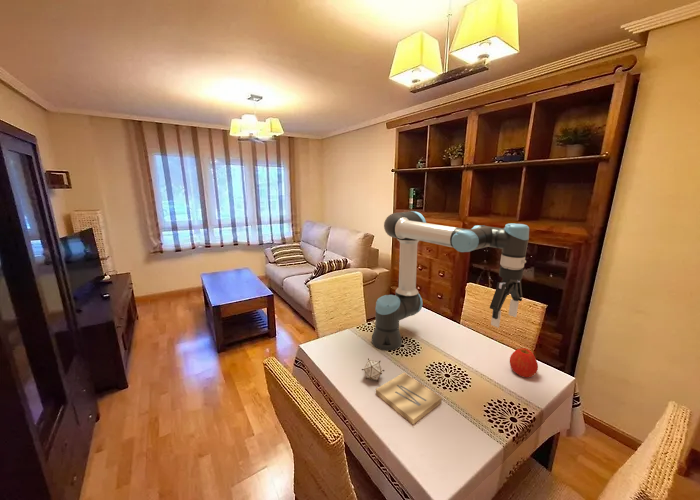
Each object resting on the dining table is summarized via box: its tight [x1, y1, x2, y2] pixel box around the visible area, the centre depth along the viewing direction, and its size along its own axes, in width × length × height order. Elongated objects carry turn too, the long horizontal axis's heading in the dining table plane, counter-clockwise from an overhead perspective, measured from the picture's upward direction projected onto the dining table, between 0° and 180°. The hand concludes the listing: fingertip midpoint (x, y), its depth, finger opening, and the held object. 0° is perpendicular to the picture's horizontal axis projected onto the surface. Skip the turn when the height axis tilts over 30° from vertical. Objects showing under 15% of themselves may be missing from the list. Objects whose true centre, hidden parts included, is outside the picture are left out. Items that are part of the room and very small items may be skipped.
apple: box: [509, 347, 539, 378], centre depth 118 cm, size 10×10×10 cm
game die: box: [361, 357, 385, 383], centre depth 115 cm, size 9×8×10 cm
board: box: [375, 372, 443, 425], centre depth 105 cm, size 18×16×2 cm
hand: (503, 320), depth 106 cm, fingers open, 13 cm apart
